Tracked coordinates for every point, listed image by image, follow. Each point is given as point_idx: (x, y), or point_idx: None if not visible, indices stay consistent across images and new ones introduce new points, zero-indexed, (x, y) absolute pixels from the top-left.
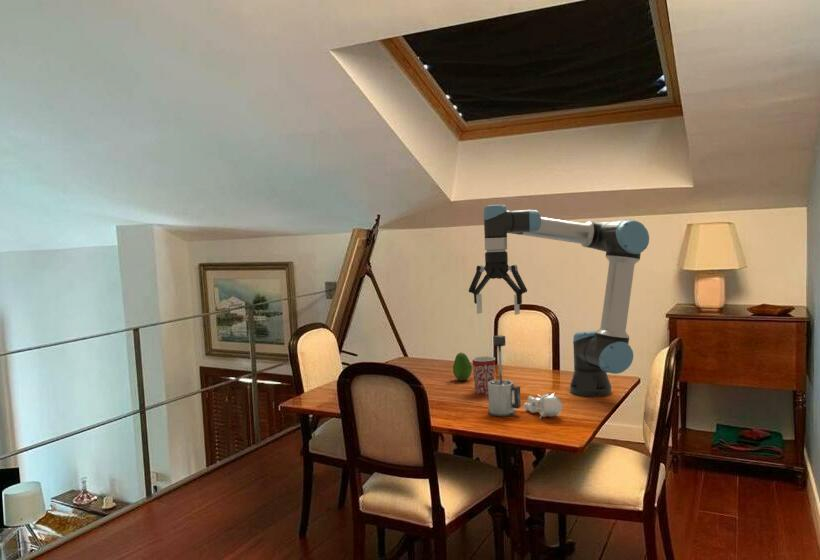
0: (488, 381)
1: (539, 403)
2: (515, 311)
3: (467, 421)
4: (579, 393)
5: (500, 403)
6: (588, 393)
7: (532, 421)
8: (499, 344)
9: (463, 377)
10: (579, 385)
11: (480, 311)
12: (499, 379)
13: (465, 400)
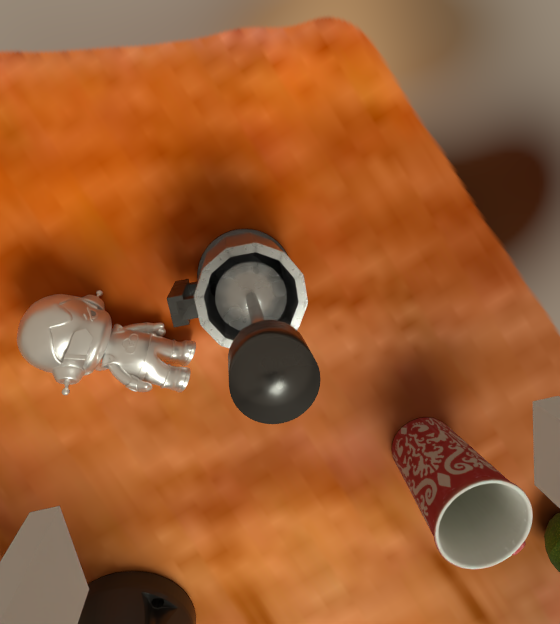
0: (413, 455)
1: (96, 315)
2: (29, 538)
3: (292, 124)
4: (133, 576)
5: (223, 241)
6: (101, 584)
7: (101, 246)
8: (247, 329)
9: (555, 518)
10: (130, 602)
11: (547, 455)
12: (256, 298)
13: (431, 336)
